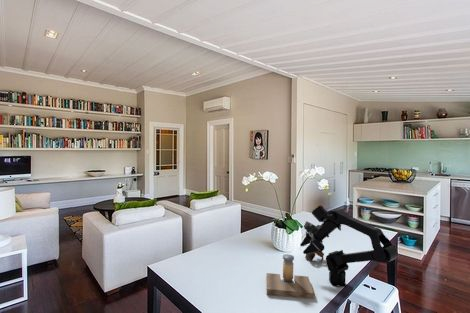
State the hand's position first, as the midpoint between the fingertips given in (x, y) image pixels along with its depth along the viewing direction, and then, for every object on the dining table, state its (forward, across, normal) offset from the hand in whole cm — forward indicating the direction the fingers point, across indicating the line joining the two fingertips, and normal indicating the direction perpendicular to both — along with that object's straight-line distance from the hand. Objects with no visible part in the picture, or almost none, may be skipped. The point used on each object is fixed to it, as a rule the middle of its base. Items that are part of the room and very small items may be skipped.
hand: (302, 249), depth 125 cm
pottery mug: (+3, -20, +17) cm, 26 cm away
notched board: (+15, +12, +4) cm, 20 cm away
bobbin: (+15, +8, +4) cm, 18 cm away
